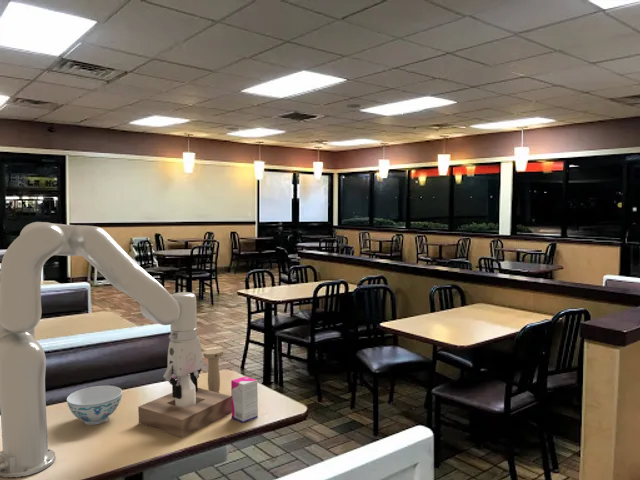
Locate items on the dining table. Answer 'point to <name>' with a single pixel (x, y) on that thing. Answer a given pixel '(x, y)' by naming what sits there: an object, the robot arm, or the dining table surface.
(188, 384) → the white rounded piece
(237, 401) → the supplement box
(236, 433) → the dining table surface
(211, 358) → the handle
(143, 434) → the dining table surface
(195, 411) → the well block
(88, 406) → the chinaware
